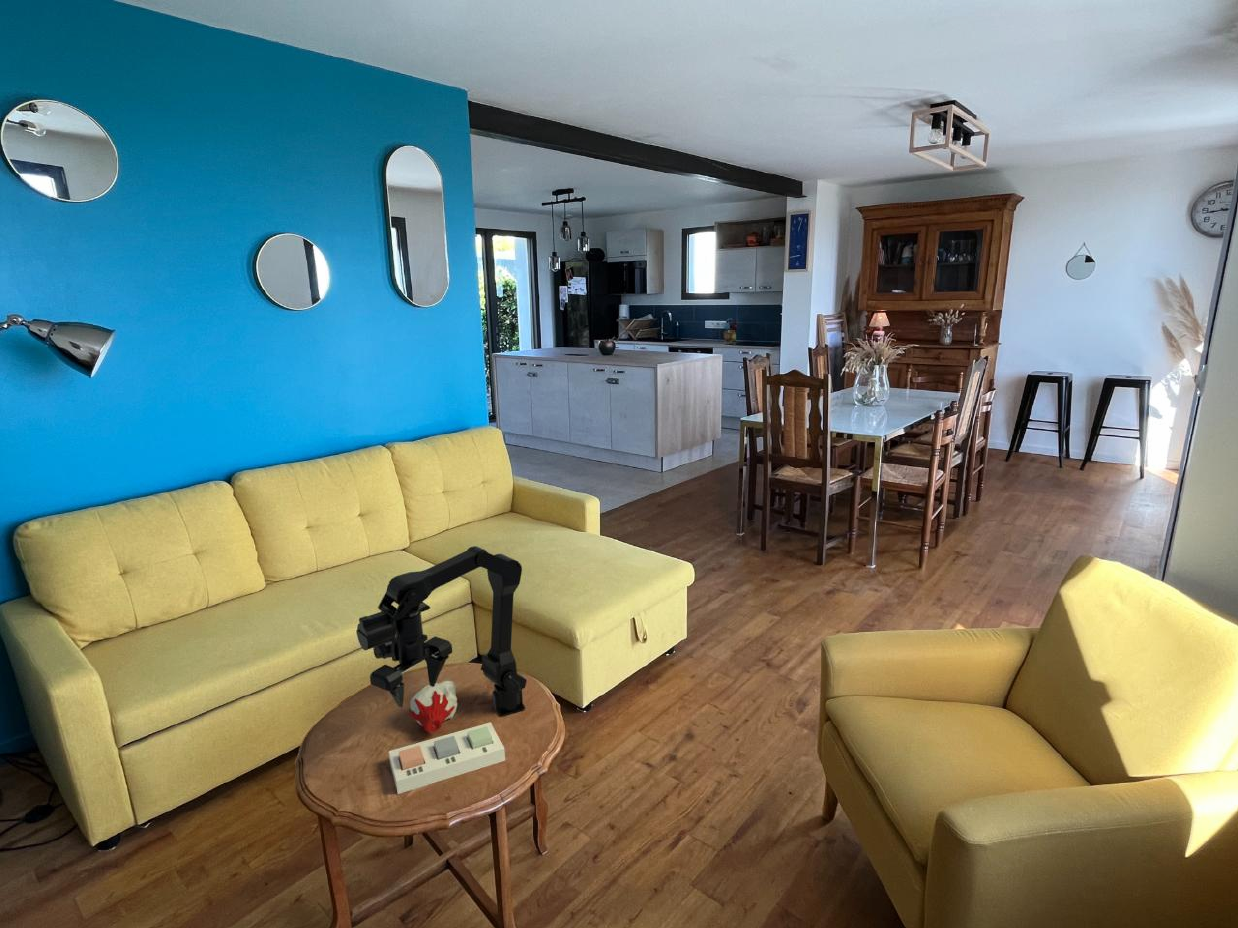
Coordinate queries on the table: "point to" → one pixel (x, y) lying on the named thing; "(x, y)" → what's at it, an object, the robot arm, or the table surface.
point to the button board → (446, 760)
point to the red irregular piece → (434, 705)
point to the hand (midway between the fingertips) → (416, 696)
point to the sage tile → (479, 737)
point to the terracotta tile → (411, 757)
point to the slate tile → (446, 747)
